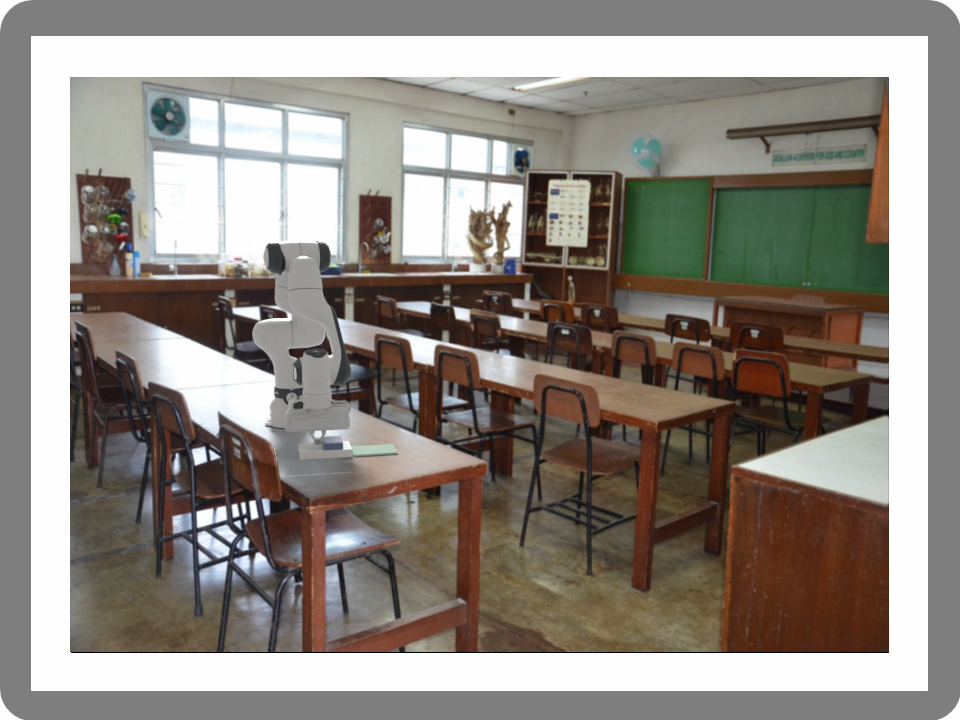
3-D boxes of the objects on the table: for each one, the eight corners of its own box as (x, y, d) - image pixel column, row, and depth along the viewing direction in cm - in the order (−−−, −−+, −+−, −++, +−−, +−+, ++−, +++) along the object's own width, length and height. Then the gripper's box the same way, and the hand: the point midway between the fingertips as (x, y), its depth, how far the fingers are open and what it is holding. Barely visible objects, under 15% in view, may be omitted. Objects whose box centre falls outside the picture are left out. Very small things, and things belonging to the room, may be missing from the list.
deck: (298, 451, 252) (298, 443, 252) (348, 448, 256) (348, 440, 256) (299, 460, 243) (299, 452, 242) (351, 456, 247) (351, 449, 246)
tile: (322, 442, 253) (321, 436, 253) (340, 441, 255) (340, 435, 254) (323, 450, 245) (323, 444, 244) (343, 449, 246) (343, 443, 246)
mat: (350, 448, 256) (350, 446, 256) (393, 445, 260) (393, 444, 260) (353, 456, 247) (353, 454, 247) (397, 454, 251) (397, 452, 250)
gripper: (349, 397, 252) (350, 439, 254) (284, 400, 247) (285, 443, 249) (351, 401, 246) (352, 444, 248) (284, 404, 241) (285, 448, 243)
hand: (318, 443), depth 248 cm, fingers closed
